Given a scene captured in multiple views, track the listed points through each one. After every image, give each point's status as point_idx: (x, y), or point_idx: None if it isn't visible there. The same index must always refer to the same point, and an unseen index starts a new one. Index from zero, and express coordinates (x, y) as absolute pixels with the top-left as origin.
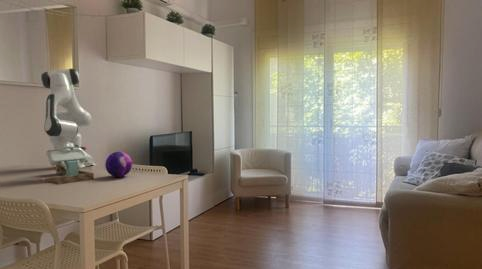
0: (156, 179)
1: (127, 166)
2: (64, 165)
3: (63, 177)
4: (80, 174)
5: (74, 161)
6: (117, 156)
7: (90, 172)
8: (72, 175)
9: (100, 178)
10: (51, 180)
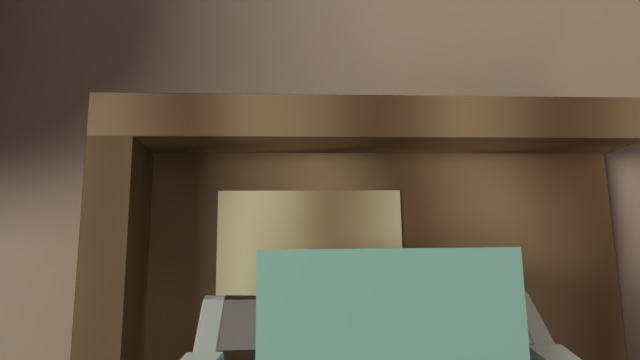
0: None
1: None
2: (559, 355)
3: (578, 99)
4: (304, 122)
5: (350, 286)
6: None
7: (86, 184)
8: (431, 130)
9: (34, 100)
10: (623, 342)
